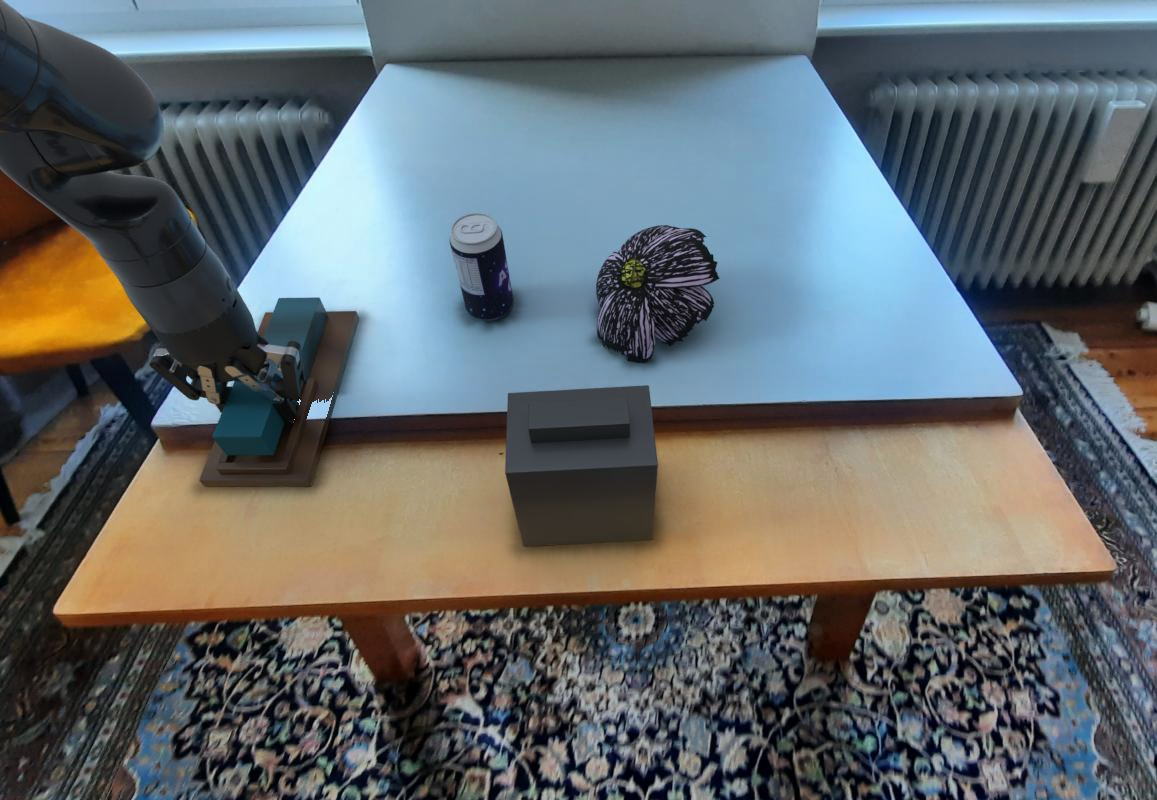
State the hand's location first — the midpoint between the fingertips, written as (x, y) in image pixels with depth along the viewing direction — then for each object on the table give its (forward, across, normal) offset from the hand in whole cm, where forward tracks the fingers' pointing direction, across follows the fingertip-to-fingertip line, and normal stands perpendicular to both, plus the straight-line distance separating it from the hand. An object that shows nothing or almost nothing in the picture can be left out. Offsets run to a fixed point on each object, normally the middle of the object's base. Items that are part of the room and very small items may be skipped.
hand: (266, 416), depth 75 cm
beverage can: (+3, +21, +18) cm, 28 cm away
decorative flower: (+3, +40, +15) cm, 43 cm away
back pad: (0, 0, 0) cm, 0 cm away
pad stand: (+3, +33, -9) cm, 34 cm away
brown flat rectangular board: (+3, 0, +5) cm, 5 cm away
